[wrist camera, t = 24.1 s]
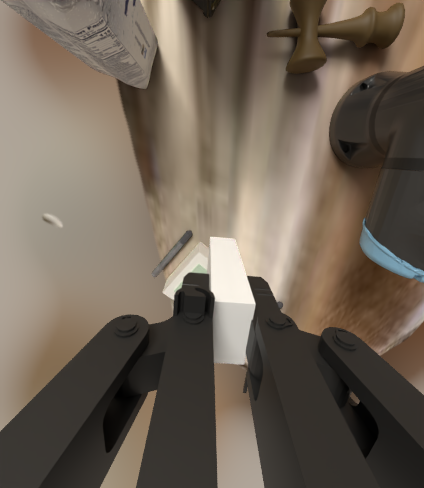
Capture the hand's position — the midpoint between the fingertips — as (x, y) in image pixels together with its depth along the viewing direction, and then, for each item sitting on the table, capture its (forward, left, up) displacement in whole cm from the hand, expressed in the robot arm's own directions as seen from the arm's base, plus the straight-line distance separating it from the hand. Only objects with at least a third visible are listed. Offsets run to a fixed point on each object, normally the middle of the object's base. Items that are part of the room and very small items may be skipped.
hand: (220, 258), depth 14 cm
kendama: (-16, -26, -35) cm, 46 cm away
